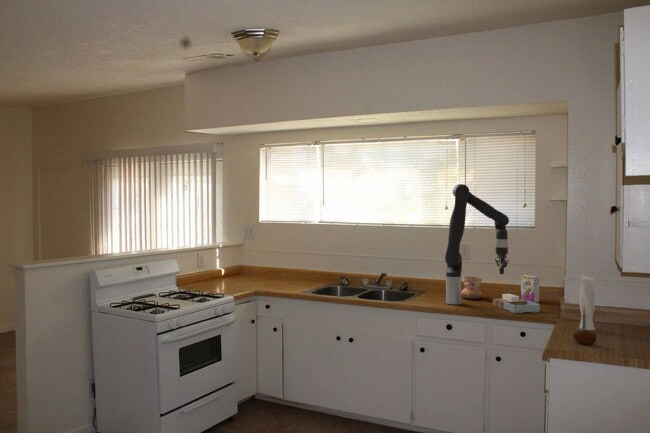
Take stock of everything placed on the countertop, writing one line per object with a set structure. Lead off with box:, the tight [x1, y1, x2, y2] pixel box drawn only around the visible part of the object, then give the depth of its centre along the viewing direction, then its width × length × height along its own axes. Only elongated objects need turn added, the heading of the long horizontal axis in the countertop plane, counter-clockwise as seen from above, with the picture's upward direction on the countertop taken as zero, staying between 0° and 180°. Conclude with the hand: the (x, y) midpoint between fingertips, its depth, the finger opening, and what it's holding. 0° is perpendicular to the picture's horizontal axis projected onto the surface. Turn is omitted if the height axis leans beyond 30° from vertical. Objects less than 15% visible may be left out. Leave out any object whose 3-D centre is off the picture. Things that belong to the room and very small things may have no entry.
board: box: [492, 297, 527, 310], centre depth 343 cm, size 13×16×4 cm
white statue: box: [576, 273, 597, 332], centre depth 282 cm, size 8×8×28 cm
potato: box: [572, 330, 598, 346], centre depth 252 cm, size 7×9×6 cm
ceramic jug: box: [461, 275, 484, 300], centre depth 373 cm, size 18×14×14 cm
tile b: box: [507, 294, 520, 302], centre depth 339 cm, size 5×5×3 cm
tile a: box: [501, 293, 513, 300], centre depth 345 cm, size 5×5×3 cm
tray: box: [503, 301, 541, 314], centre depth 330 cm, size 13×16×4 cm
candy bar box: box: [520, 274, 540, 304], centre depth 359 cm, size 11×5×16 cm, turn 28°
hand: (501, 273), depth 352 cm, fingers closed
